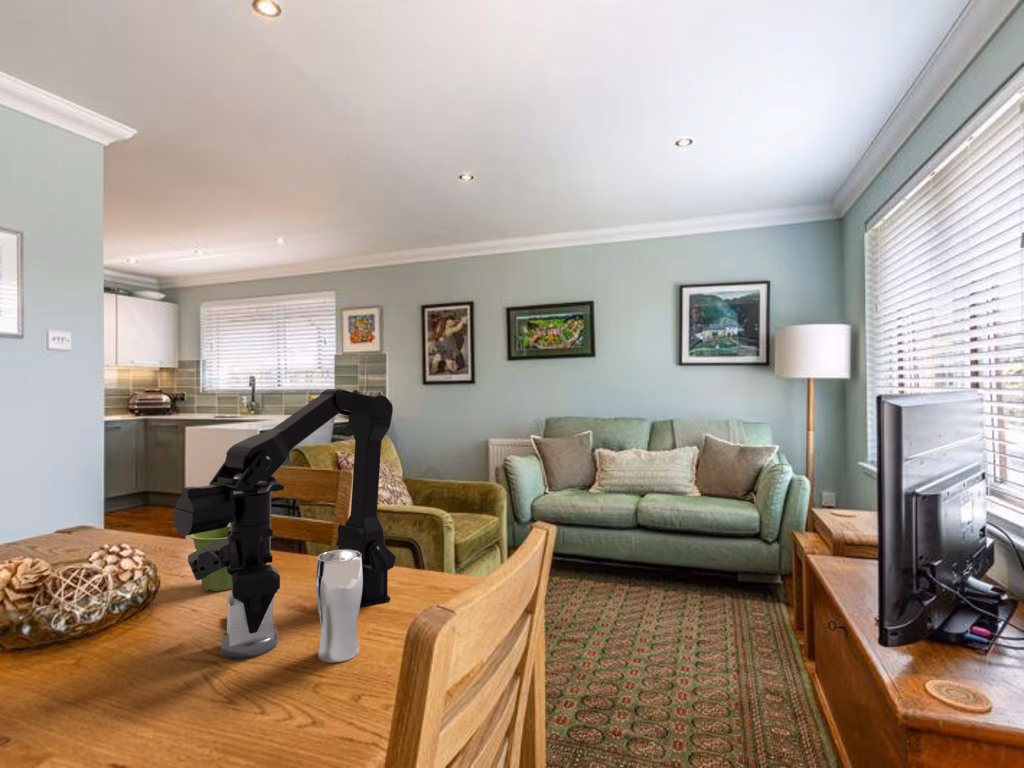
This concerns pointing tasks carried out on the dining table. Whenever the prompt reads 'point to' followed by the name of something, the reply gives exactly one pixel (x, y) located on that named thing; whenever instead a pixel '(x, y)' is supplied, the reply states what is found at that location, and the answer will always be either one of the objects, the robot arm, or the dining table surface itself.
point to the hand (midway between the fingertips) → (250, 621)
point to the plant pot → (220, 577)
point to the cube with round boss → (239, 626)
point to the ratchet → (248, 648)
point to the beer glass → (339, 603)
